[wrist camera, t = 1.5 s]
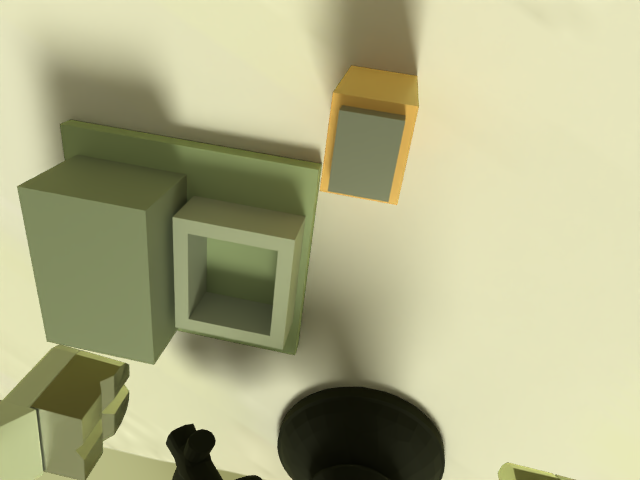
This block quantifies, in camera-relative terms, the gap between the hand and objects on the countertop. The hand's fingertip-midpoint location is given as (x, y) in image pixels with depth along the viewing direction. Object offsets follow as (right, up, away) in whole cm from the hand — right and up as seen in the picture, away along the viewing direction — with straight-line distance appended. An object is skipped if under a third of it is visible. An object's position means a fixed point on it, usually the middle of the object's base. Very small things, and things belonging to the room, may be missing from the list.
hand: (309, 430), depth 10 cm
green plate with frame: (-9, +4, +27) cm, 29 cm away
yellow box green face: (+4, +12, +20) cm, 24 cm away
